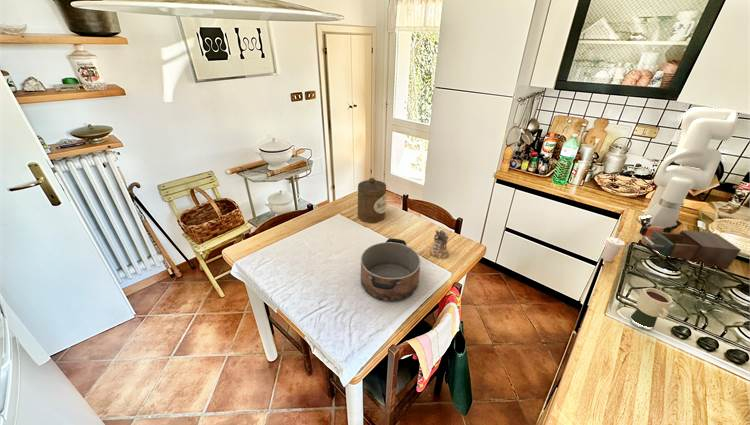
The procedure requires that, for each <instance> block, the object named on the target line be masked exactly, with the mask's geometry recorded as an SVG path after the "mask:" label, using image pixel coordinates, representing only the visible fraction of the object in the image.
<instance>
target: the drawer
mask: <svg viewBox="0 0 750 425" xmlns="http://www.w3.org/2000/svg"><path fill="white" fill-rule="evenodd" d="M641 238H642V240H644V242H646V245H647V246H648V248H650V247H651V248H652V249H654V250H657V251H658V252H659V253H660V254H662V255H664V256H666V257H667V258H668V256H670V257H678V258H683V259H687V260H690V261H691V260H692V259H693V257H694V256H695V254H696V253H697V251H698V250H699V248H700V246H699V245H697V244H696V243H695V242H693V241H692V240H691V239H689V238H688V237H687V236H685V235H684V234H679V233H675V232H670V233H665V232H662V233H660V232H659V231H657V230H654V232H653V234H652V236H651V238H649V237H646V236H643V235H642V236H641ZM651 248H650V249H651ZM652 249H651V250H652Z"/></svg>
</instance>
